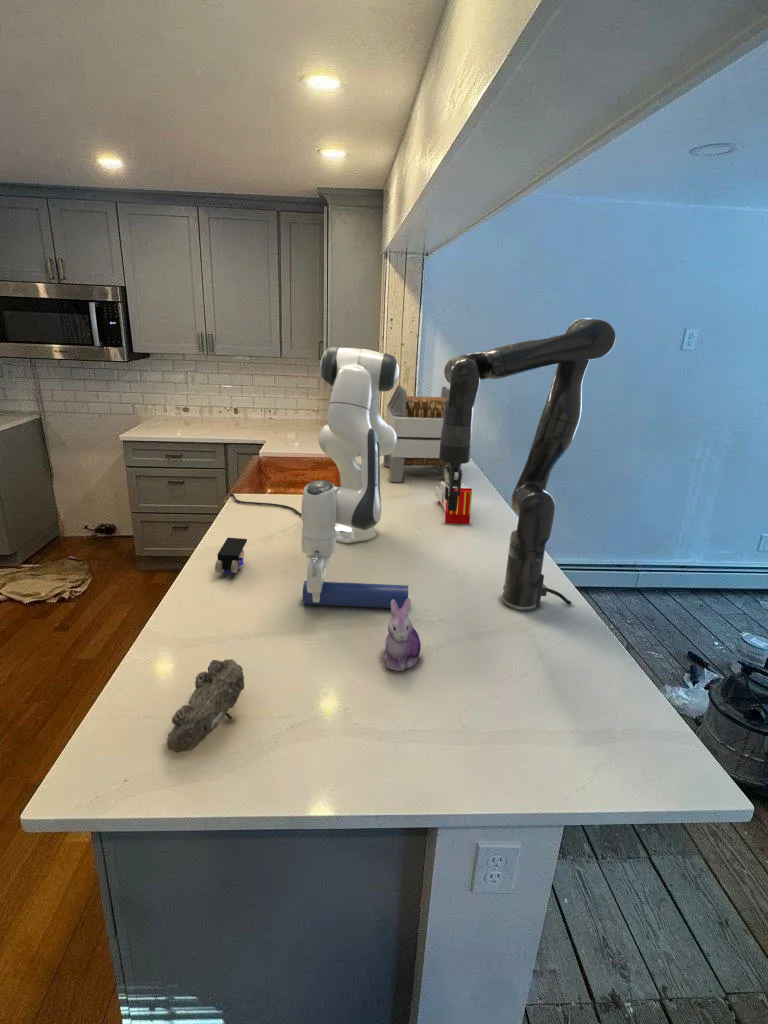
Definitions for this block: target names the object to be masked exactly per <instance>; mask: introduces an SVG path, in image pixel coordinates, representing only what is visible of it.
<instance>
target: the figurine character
mask: <svg viewBox="0 0 768 1024" xmlns="http://www.w3.org/2000/svg"><path fill="white" fill-rule="evenodd" d="M247 542H248V538H240V537H226V539H225V541H224V543H223V544H222V546H221V547H220V549H219V551H218V552H217V560H216V562H215V564H214V572H215V573H221V577H222V578H224V577H225V576H226V574H227V573H230V574H231V573H232V574H231V578H234V577H235V575H236V573H237V572H239V571H240V567H242V566H243V565H244V564H245V562H244V558H245V551H244V547H245V546H246V544H247Z"/></svg>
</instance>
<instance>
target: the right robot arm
mask: <svg viewBox="0 0 768 1024" xmlns="http://www.w3.org/2000/svg"><path fill="white" fill-rule="evenodd" d="M616 339H617V338H616V331H615V329H614V327H613V325H612V324H611V323H609V322H608V321H606V320H604V319H600V318H593V317H592V318H589V317H581V318H579V319H576V320H574V321H573V322H572V323H571V324H570V325H569V326H568V327H567V329H566V331H565V333H562V334H558V335H555V336H551V337H550V336H549V337H545V338H538V339H531V340H524V341H519V342H514V343H509V344H505V345H501V346H498V347H495V348H491V349H488V350H485V351H484V350H483V351H477V352H471V353H466V354H461V355H457V356H454V357H452V358H451V359H450V360H448V361H447V362H446V364H445V367H444V369H443V374H444V378H445V380H446V381H447V383H449V389H450V391H449V398H448V400H447V401H446V402H445V406H444V415H443V426H442V430H441V441H440V453H439V459H440V460H441V461H443V462H445V463H446V466H445V475H444V474H443V475H444V476H443V478H444V482H445V485H446V487H445V499H446V500H448V510H449V511H456V510H457V502H458V497H459V496H460V489H461V482H462V477H463V469H462V466H461V467H460V464H461V465H462V464H468V463H470V460H471V451H472V442H473V419H474V407H475V403H476V399H477V395H478V392H479V389H480V384H481V381H482V380H483V381H484V380H488V379H489V380H499V379H503V378H508V377H511V376H514V375H518V374H522V373H525V372H529V371H532V370H536V369H539V368H540V369H541V368H544V367H548V366H552V365H557V366H556V370H555V373H554V376H553V380H552V383H551V385H550V389H549V391H548V394H547V398H546V401H545V404H544V407H543V409H542V411H541V414H540V418H539V421H538V424H537V427H536V430H535V434H534V437H533V439H532V440H533V441H532V443H531V446H530V449H529V453H528V456H527V459H526V461H525V464H524V467H523V469H522V471H521V474H520V475H519V476H520V477H519V479H518V480H517V483H516V485H515V486H514V489H513V491H512V495H511V501H510V502H511V507H512V509H513V511H514V513H516V514H517V515H518V521H517V526H516V529H515V530H513V531H511V534H510V539H509V546H508V553H507V562H506V569H505V578H504V584H503V587H502V590H503V592H502V597H501V600H502V603H503V604H504V605H505V606H507V607H508V608H511V609H514V610H518V611H531V610H534V609H535V608H540V606H541V599H542V597H546V596H547V593H550V594H553V595H555V596H557V597H559V598H560V599H561V600H562V601H563V602H564V603H566V604H567V605H571V604H572V601H571V600H569V599H568V598H567V597H566V596H564V595H563V593H561V592H558V591H557V590H554V589H552V588H549V587H547V585H545V583H544V580H545V575H544V573H543V565H544V558H545V552H546V547H547V546H546V545H547V542H548V541H549V539H550V537H551V534H552V528H553V523H554V518H555V511H556V502H555V500H554V497H553V496H552V495H551V494H550V492H548V491H546V490H547V486H548V482H549V479H550V476H551V473H552V471H553V469H554V467H555V465H556V464H557V462H558V461H559V460H560V459H561V457H563V455H564V454H565V453H566V452H567V450H568V449H569V447H570V446H571V444H572V443H573V440H574V438H575V435H576V432H577V429H578V427H579V424H580V422H581V421H580V420H581V416H582V405H583V396H582V395H583V394H582V393H583V392H582V391H583V380H584V378H585V374H586V371H587V368H588V366H589V363H590V361H593V360H598V359H601V358H604V357H606V355H608V354H609V353H610V352H611V351H612V349H613V348H614V347H615V343H616ZM454 488H456V489H457V491H454Z"/></svg>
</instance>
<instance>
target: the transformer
mask: <svg viewBox="0 0 768 1024" xmlns="http://www.w3.org/2000/svg"><path fill="white" fill-rule="evenodd" d="M449 391H450V388H447V386H442V387H441V392H440V393H441V394H440V396H415V395H414V396H413V395H412V396H411V395H407V394H408V393H407V390H406V389H404V388H403V387H402V385H399V384H398V385H397V386H396V388H395V390H394V392H393V394H392V395H391V398H390V400H389V402H388V404H387V405H386V413H385V414H386V415H385V422H386V423H387V424H388V425H390V426H391V427H392V428H393V429H394V430H395V432H396V435H397V445H396V448H395V449H394V451H393V452H392V453H391V454H389V455H384V456H383V466H384V467H388V468H389V475H388V476H389V477H388V478H389V480H390V482H391V483H402V482H403V475H404V469H405V466H406V467H407V466H411V467H412V466H413V467H415V466H416V467H417V466H418V467H436V468H437V470H438V469H439V473H440V474H441V475H443V477H444V475H445V466H446V463H445V462H443V461H441V460H440V459H439V453H440V441H441V430H442V426H443V415H444V406H445V402H446V401H447V400H448V398H449ZM460 467H461V468H462V464H460Z"/></svg>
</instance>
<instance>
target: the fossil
mask: <svg viewBox="0 0 768 1024" xmlns="http://www.w3.org/2000/svg"><path fill="white" fill-rule="evenodd" d="M243 670H244V669H243V667H242V665H240V664H237V662H236V661H235V660H234V659H232V658H231V659H227V658H226V659H224V660H223V661H222V660H217V659H212V660H211V661H210V663H209V665H208V666H207V671H201V672H199V673H198V674H197V675H196V676H195V680H194V684H195V685H194V687H195V689H194V690H193V693H192V694H191V697H190V698H189V700H188V704H184V705H182V706H181V707H180V709H177V710H176V711H175V713H174V715H173V716H172V718H171V723H172V724H173V727H172V730H171V731H170V732H168V734H167V738H166V741H167V742H166V745H167V749H168V750H169V751H173V752H174V753H176V754H178V753H182V752H188V751H189V752H192V751H193V750H195V748H196V747H197V746H199V744H200V743H201V742H203V741H204V740H205V739H206V738H207V737H208V736H209V735H210V734H211V733H212V732H214V730H215V729H217V727H218V726H219V724H220V722H221V721H222V720H223V719H224V718H225V716H226V717H227V719H229V720H233V717H232V715H230V714H229V710H230V709H231V708H234V706H235V704H236V703H237V702H238V699H239V697H240V695H241V693H242V691H243V690H245V689H244V688H245V675H244V671H243Z"/></svg>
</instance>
